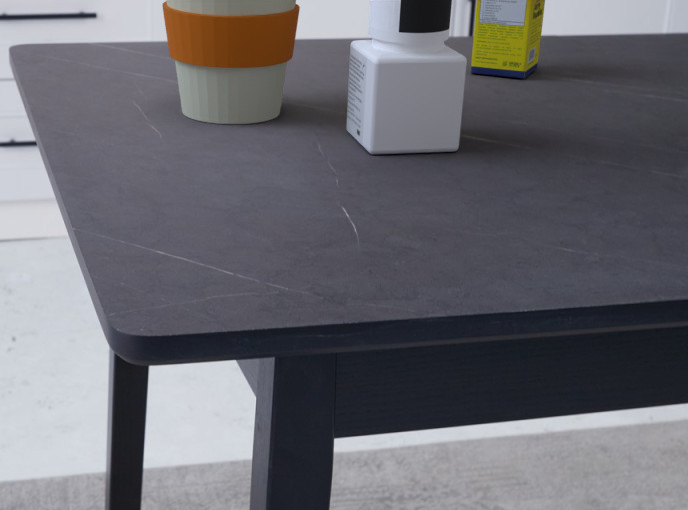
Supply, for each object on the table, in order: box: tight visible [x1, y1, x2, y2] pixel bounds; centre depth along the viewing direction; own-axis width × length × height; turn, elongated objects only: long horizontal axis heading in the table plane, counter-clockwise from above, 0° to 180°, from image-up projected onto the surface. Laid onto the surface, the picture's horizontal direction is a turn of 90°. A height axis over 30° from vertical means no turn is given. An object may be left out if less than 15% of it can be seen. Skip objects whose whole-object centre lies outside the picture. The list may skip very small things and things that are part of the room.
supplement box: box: [470, 0, 546, 80], centre depth 121 cm, size 6×6×11 cm
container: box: [346, 0, 468, 155], centre depth 95 cm, size 8×8×13 cm
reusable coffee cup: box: [162, 0, 301, 125], centre depth 102 cm, size 13×13×15 cm
